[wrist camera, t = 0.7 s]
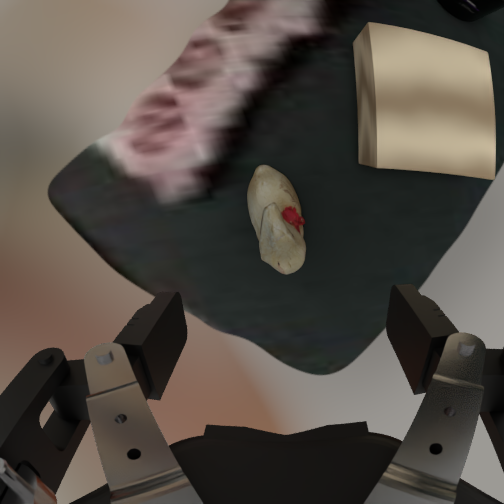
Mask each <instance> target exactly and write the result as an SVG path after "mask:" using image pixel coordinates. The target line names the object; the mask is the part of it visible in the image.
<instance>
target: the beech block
mask: <svg viewBox="0 0 504 504" xmlns="http://www.w3.org/2000/svg"><path fill="white" fill-rule="evenodd" d="M353 50H354V60H355V73H356V87H357V107H358V144H359V164H363V165H367V166H371V167H376V168H388V169H402V170H415V171H426V172H436V173H446V174H454V175H463V176H470V177H478V178H485V179H492V180H495V156H496V133H495V109H494V96H493V86H492V78H491V70H490V63H489V57H488V52H485V51H483V50H480V49H477V48H474V47H472V46H469V45H466V44H463V43H459V42H456V41H453V40H450V39H446V38H443V37H439V36H435V35H432V34H428V33H424V32H420V31H415V30H411V29H406V28H401V27H396V26H390V25H385V24H378V23H372V22H368V23H367V24H366V26H365V27H364V28H363V30H362V31H361V33H360V34H359V35H358V37H357V38H356V39H355V41H354V42H353Z"/></svg>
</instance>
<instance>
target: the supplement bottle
mask: <svg viewBox="0 0 504 504" xmlns="http://www.w3.org/2000/svg"><path fill="white" fill-rule="evenodd" d="M439 1H440V3H441V4H442V5H443V6H444V7H445V8H446V9H447V10H448V11H449V12H450V13H452V14H453V15H455V16H456V17H458V18H460V19H463V20H466V21H475V20H477V19H479V18H482V17H484V16H486V15H488V14H490V13H492V12H494V11H497V10H499V9H501V8H503V7H504V0H439Z"/></svg>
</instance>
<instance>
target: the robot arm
mask: <svg viewBox="0 0 504 504" xmlns="http://www.w3.org/2000/svg"><path fill="white" fill-rule="evenodd" d="M386 331H387V336H388V338H389V340H390V342H391V344H392V347H393V349H394V351H395V353H396V355H397V357H398V359H399V361H400V364H401V366H402V368H403V371H404V373H405V375H406V377H407V379H408V382H409V384H410V386H411V389H412V391H413V393H414V395H416V394H422V393H426V394H425V397H424V399H423V401H422V403H421V406H420V408H419V410H418V412H417V414H416V416H415V419H414V421H413V422H412V425H411V427H410V429H409V430H408V432H407V434H406V436H405V438H404V440H403V441H401V440H399V439H396V438H394V437H391V436H388V435H384V434H379V433H373V432H368V427H367V423H366V421H364V422H356V423H346V424H335V425H326V426H323V427H319V428H315V429H311V430H307V431H304V432H299V433H295V434H290V435H282V434H276V433H271V432H266V431H262V430H257V429H252V428H248V427H237V426H219V425H206V428H205V432H204V435H203V436H196V437H191V438H188V439H184V440H181V441H178V442H176V443H173V444H171V445H169V446H168V444H167V442H166V440H165V438H164V436H163V434H162V432H161V430H160V429H159V427H158V424H157V422H156V420H155V418H154V416H153V414H152V412H151V410H150V408H149V406H148V403H147V399H154V400H160V399H161V397H162V395H163V392H164V390H165V388H166V385H167V383H168V381H169V379H170V377H171V374H172V372H173V370H174V368H175V365H176V363H177V361H178V359H179V357H180V354H181V352H182V350H183V348H184V346H185V343H186V340H187V325H186V320H185V315H184V310H183V304H182V299H181V295H180V293H179V292H159V293H158V294H157V296H156V297H155V298H154V300H153V301H152V302H151V303H150V304H147V305H145V306H143V307H142V308H140V309H139V310H137V312H136V313H135V314H134V316H133V317H132V319H130V321H129V322H128V323H127V325H126V326H125V327H124V328H123V330H122V331H121V332H120V333H119V335H118V336H117V337H116V339H115V340H114V341H113V343H103V344H100V345H97V346H95V347H93V348H92V349H90V350H89V351H88V352H87V353H86V355H85V357H84V359H81V360H70V361H67V359H66V357H65V355H64V353H63V351H62V350H61V349H59V348H47V349H44V350H42V351H40V352H38V353H37V354H35V355H34V356H33V357H32V358H31V359H30V360H29V362H28V363H27V364H26V365H25V366H24V368H23V369H22V370H21V371H20V372H19V373H18V374H17V376H16V377H15V378H14V379H13V380H12V382H11V383H10V384H9V385H8V387H7V388H6V389H5V390H4V391H3V393H2V394H1V395H0V504H57V499H56V496H55V494H56V492H57V490H58V488H59V486H60V484H61V481H62V479H63V477H64V475H65V473H66V471H67V468H68V467H69V464H70V462H71V460H72V458H73V456H74V454H75V452H76V450H77V448H78V446H79V444H80V442H81V440H82V438H83V436H84V434H85V432H86V430H87V428H88V426H89V424H90V423H91V425H92V430H93V434H94V437H95V442H96V446H97V449H98V453H99V456H100V460H101V463H102V467H103V470H104V473H105V476H106V479H107V482H108V483H107V484H105V485H103V486H102V487H100V488H98V489H97V490H95V491H93V492H91V493H89V494H87V495H85V496H83V497H81V498H79V499H77V500H75V501H73V502H71V503H69V504H504V503H502V502H500V501H498V500H496V499H495V498H493V497H491V496H489V495H487V494H486V493H484V492H482V491H481V490H479V489H477V488H476V487H474V486H472V485H471V484H469V483H467V482H466V481H464V480H462V479H461V478H460V476H461V474H462V471H463V468H464V465H465V462H466V459H467V456H468V453H469V450H470V446H471V443H472V439H473V436H474V432H475V428H476V424H477V421H478V416H479V414H480V416H481V419H482V421H483V423H484V425H485V427H486V430H487V432H488V434H489V436H490V439H491V441H492V444H493V446H494V449H495V451H496V454H497V456H498V459H499V461H500V463H501V467H502V469H503V472H504V348H503V349H486V347H485V344H484V343H483V341H482V340H481V339H480V338H478V337H477V336H475V335H472V334H468V333H459V331H458V330H457V329H456V328H455V326H454V325H453V324H452V322H451V321H450V320H449V319H448V317H447V316H445V314H444V313H443V311H442V310H440V308H439V307H438V305H437V304H436V303H435V302H434V301H433V300H431V299H429V298H428V297H426V296H422V295H421V294H420V293H419V292H418V290H417V289H416V288H415V287H414V286H413V285H412V284H403V285H393V286H392V289H391V293H390V301H389V308H388V314H387V321H386ZM48 401H49V402H50V403H51V405H52V407H53V408H54V411H53V413H52V414H51V416H50V417H49V419H48V421H47V422H46V424H45V425H44V427H43V429H42V428H41V426H40V422H39V417H40V414H41V412H42V410H43V408H44V407H45V406H46V404H47V403H48Z"/></svg>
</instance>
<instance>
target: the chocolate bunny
mask: <svg viewBox="0 0 504 504" xmlns="http://www.w3.org/2000/svg"><path fill="white" fill-rule="evenodd" d="M247 201H248V209H249V214H250V218H251V222H252V224H253V226H254V228H255V231H256V234H257V238H258V240H259V248H260V254H261V259H262V260H263V261H265V262H267V263H268V264H270V265H271V266H272V267H273V268H275V269H276V270H278V271H279V272H281V273H282V274H290V273H293V272H295V271H297V270H298V269H299V268H300V267H301V266H302V265H303V263H304V260H305V253H306V244H305V241H304V239H303V233H304V232H303V224H305V220H304V218H303V217H302V216H301V207H300V203H299V200H298V197H297V194H296V192H295V190H294V188H293V186H292V184H291V182H290V181H289V180H288V178H287V177H286V176H284V175H283V174H282V173H280V172H279V171H277V170H275V169H273V168H272V167H270V166H267V165H259V166H258V167H257V168H256V170H255V173H254V175H253V177H252V179H251V181H250V184H249V187H248V192H247Z"/></svg>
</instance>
